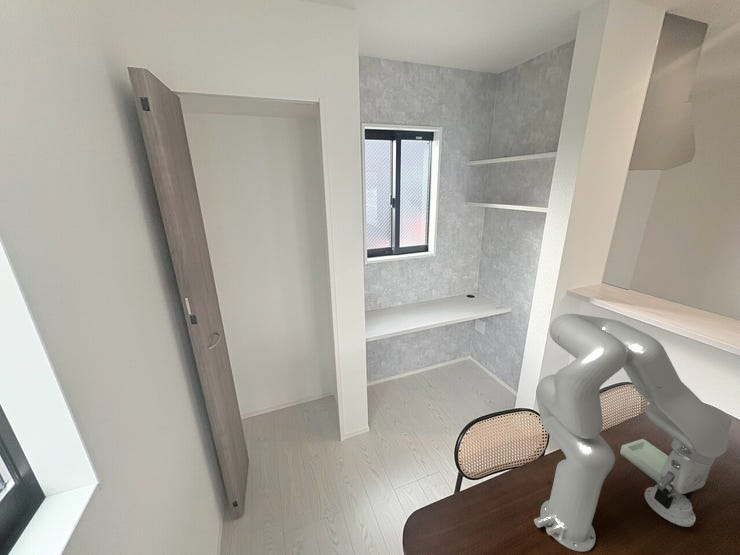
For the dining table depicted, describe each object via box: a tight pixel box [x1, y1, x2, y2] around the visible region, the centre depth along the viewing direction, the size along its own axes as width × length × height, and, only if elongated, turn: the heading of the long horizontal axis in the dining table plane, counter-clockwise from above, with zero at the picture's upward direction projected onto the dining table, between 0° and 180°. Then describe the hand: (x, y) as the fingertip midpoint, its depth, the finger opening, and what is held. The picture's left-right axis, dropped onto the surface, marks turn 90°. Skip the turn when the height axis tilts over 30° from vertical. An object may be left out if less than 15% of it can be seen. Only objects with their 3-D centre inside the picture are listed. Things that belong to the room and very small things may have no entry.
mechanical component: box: [644, 484, 697, 528], centre depth 81 cm, size 10×4×10 cm
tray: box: [619, 438, 674, 487], centre depth 96 cm, size 10×16×4 cm, turn 15°
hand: (671, 499), depth 81 cm, fingers closed on mechanical component, 7 cm apart
